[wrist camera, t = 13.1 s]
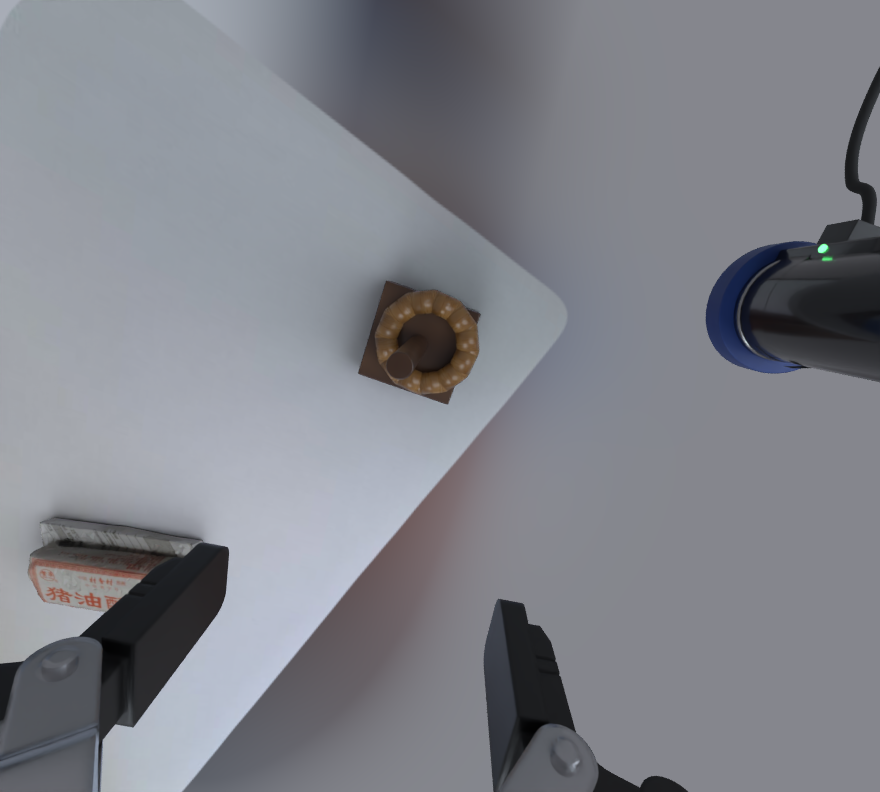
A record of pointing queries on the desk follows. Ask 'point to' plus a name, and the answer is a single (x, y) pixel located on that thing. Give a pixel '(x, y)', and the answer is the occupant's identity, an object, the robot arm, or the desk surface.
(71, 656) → the robot arm
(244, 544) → the desk surface
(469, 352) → the segmented donut ring
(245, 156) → the desk surface
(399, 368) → the peg stand
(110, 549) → the packaged product
